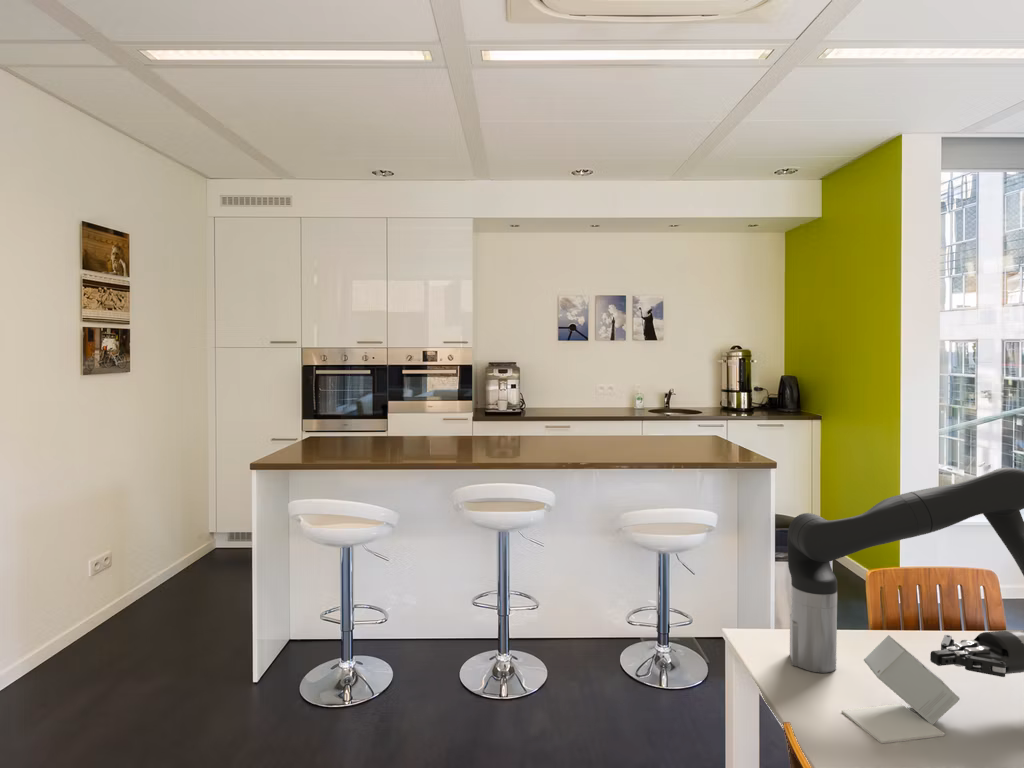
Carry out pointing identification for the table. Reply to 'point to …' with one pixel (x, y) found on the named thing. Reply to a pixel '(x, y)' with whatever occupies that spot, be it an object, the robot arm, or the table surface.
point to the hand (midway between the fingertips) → (933, 658)
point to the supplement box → (911, 680)
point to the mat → (892, 723)
